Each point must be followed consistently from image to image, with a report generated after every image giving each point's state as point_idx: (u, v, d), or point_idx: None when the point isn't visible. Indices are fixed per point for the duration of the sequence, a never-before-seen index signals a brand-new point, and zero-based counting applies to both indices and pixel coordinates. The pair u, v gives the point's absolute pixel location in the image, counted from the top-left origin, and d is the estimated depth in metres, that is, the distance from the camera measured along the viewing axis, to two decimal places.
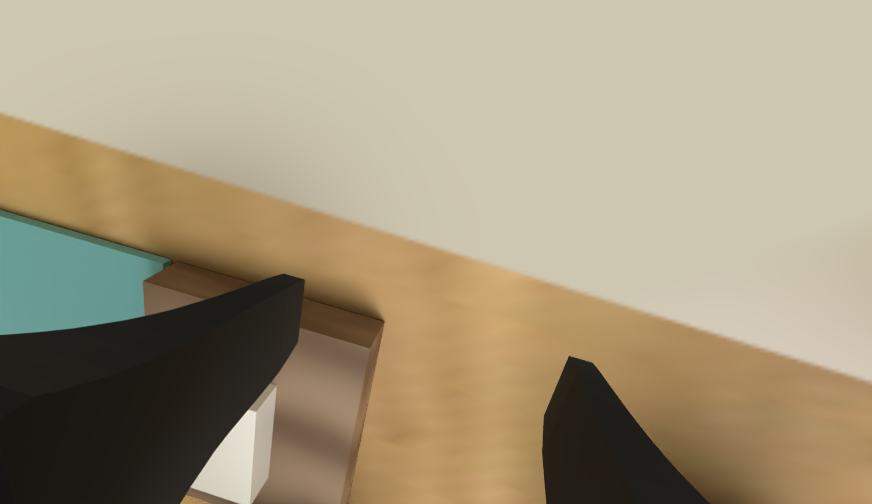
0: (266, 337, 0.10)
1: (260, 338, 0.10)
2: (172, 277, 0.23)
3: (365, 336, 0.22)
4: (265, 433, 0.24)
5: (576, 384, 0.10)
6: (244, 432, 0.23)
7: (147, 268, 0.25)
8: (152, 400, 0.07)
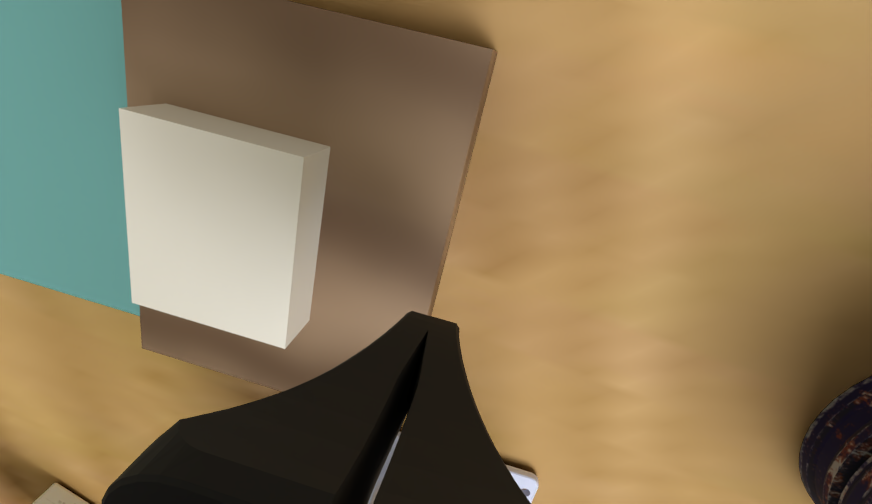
0: (410, 380, 0.10)
1: (408, 383, 0.10)
2: None
3: None
4: (311, 226, 0.15)
5: None
6: (282, 202, 0.14)
7: None
8: (364, 467, 0.07)
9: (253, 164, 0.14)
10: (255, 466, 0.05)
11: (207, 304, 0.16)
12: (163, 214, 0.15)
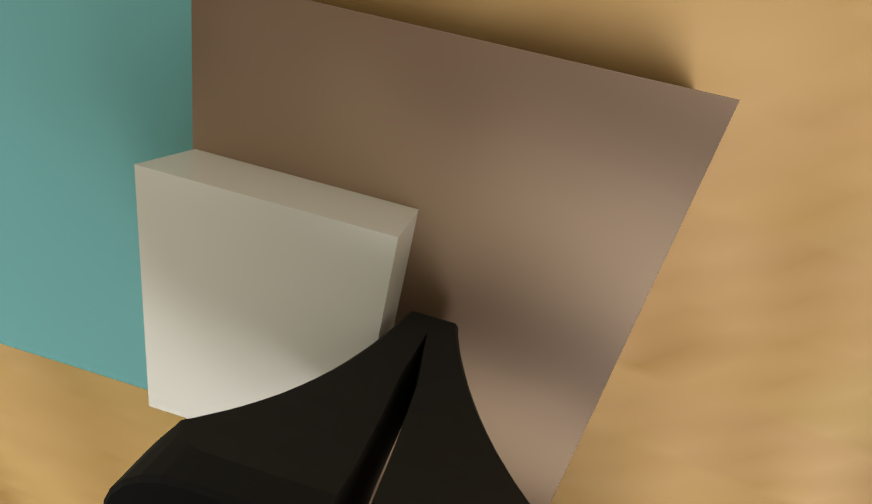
0: (411, 381, 0.10)
1: (409, 383, 0.10)
2: None
3: None
4: (391, 314, 0.11)
5: (426, 340, 0.10)
6: (362, 294, 0.10)
7: None
8: (365, 468, 0.07)
9: (323, 243, 0.10)
10: (258, 467, 0.05)
11: None
12: (193, 302, 0.11)
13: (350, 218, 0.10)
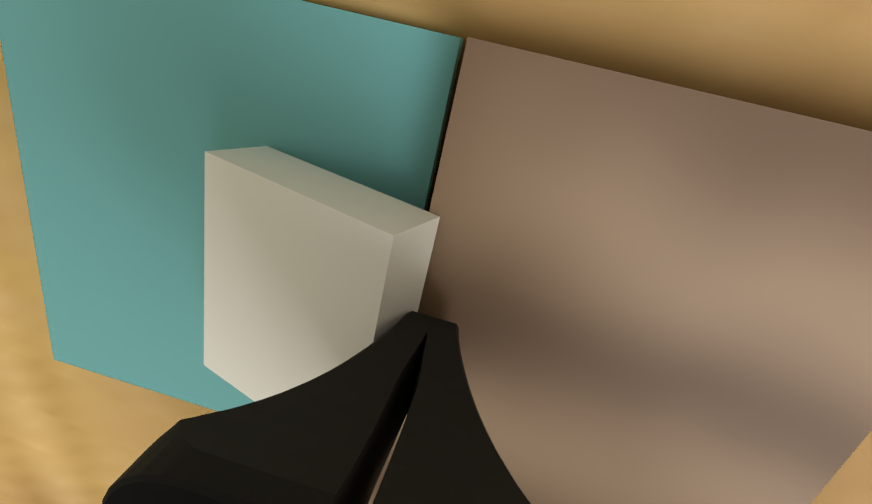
0: (410, 380, 0.10)
1: (408, 383, 0.10)
2: None
3: None
4: (401, 318, 0.11)
5: None
6: (362, 289, 0.10)
7: (420, 53, 0.12)
8: (365, 467, 0.07)
9: (333, 235, 0.10)
10: (256, 466, 0.05)
11: (271, 389, 0.13)
12: (237, 277, 0.12)
13: (359, 214, 0.10)
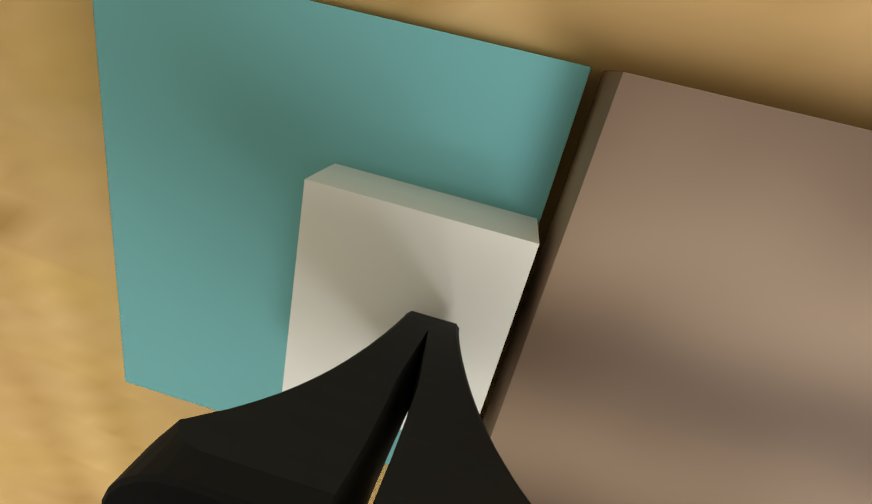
0: (410, 380, 0.10)
1: (408, 383, 0.10)
2: None
3: None
4: None
5: None
6: (498, 293, 0.11)
7: (545, 82, 0.11)
8: (364, 467, 0.07)
9: (470, 249, 0.11)
10: (256, 466, 0.05)
11: None
12: (340, 299, 0.12)
13: (493, 227, 0.11)
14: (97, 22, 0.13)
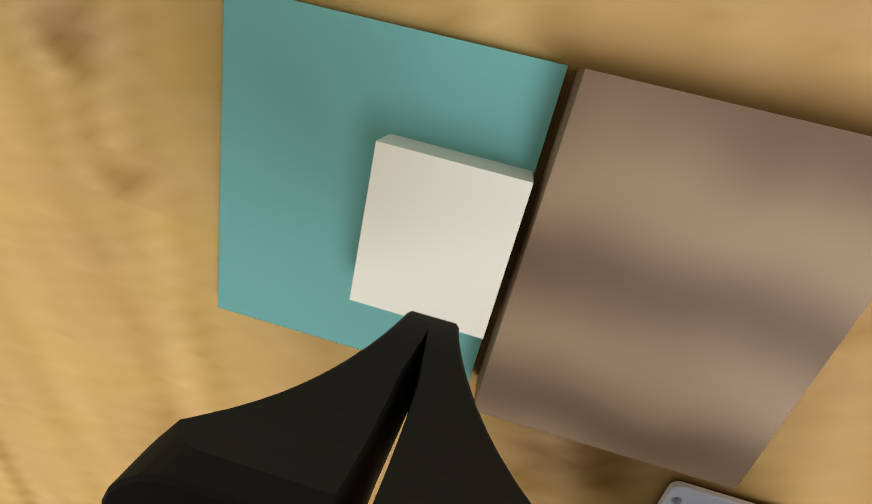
0: (410, 380, 0.10)
1: (408, 383, 0.10)
2: None
3: None
4: None
5: None
6: (506, 218, 0.17)
7: (538, 76, 0.17)
8: (364, 467, 0.07)
9: (487, 187, 0.17)
10: (256, 466, 0.05)
11: (419, 301, 0.19)
12: (396, 226, 0.18)
13: (502, 173, 0.17)
14: (224, 34, 0.18)
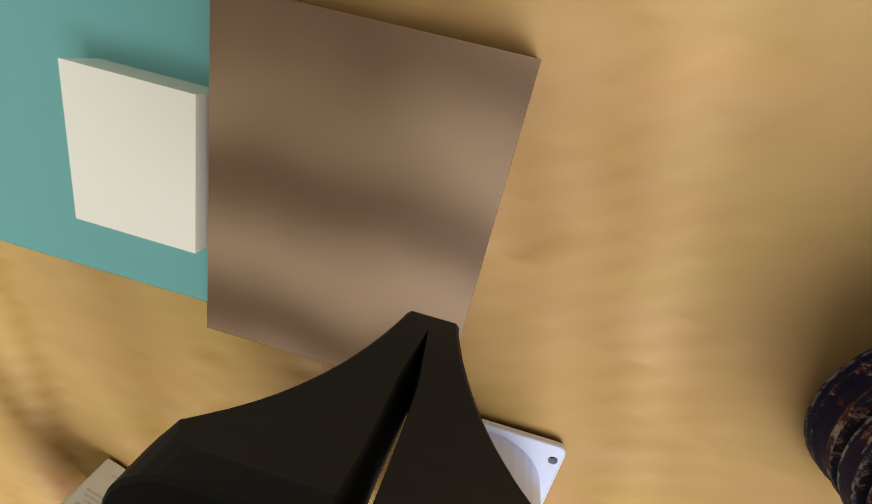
0: (410, 380, 0.10)
1: (407, 383, 0.10)
2: None
3: None
4: None
5: None
6: (183, 130, 0.18)
7: None
8: (364, 467, 0.07)
9: (159, 100, 0.18)
10: (256, 466, 0.05)
11: (133, 217, 0.20)
12: (95, 143, 0.19)
13: (174, 87, 0.18)
14: None
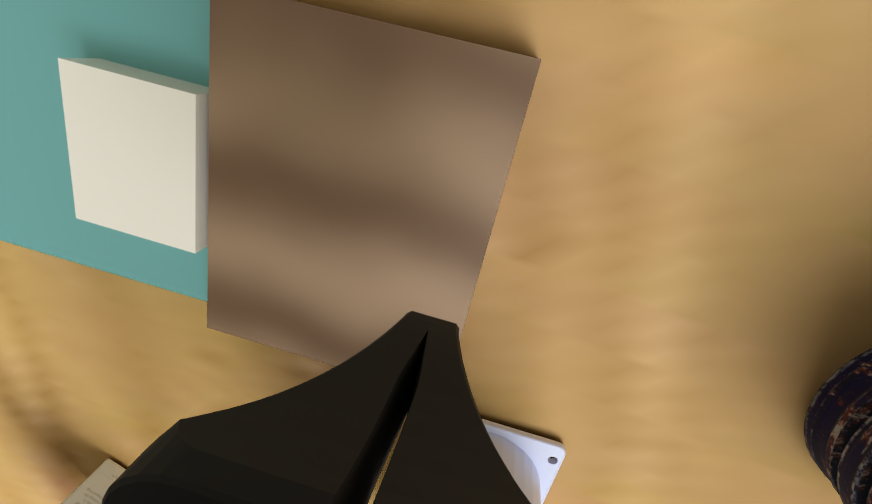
0: (410, 380, 0.10)
1: (407, 383, 0.10)
2: None
3: None
4: None
5: None
6: (183, 130, 0.18)
7: None
8: (364, 467, 0.07)
9: (159, 100, 0.18)
10: (256, 466, 0.05)
11: (133, 217, 0.20)
12: (95, 143, 0.19)
13: (174, 87, 0.18)
14: None
